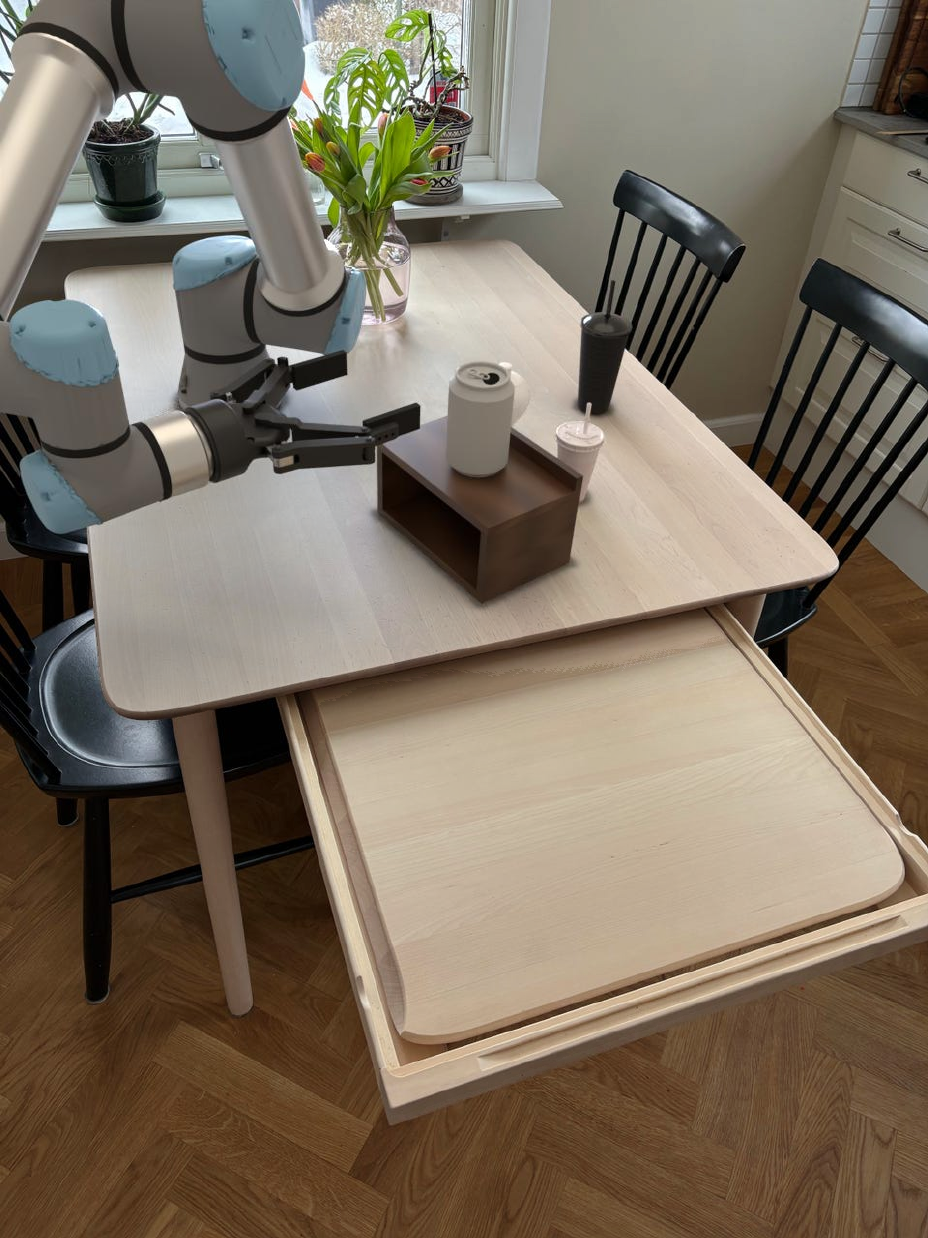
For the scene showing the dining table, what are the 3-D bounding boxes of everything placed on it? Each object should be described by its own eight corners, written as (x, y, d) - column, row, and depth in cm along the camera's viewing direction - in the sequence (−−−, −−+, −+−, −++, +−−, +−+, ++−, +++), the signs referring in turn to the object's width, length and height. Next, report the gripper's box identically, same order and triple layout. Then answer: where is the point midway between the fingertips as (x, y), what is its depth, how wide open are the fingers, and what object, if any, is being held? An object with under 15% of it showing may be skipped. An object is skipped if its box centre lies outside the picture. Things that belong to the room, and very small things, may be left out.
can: (501, 485, 112) (510, 392, 104) (438, 475, 113) (442, 382, 105) (512, 452, 118) (521, 361, 110) (452, 443, 118) (457, 352, 110)
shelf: (461, 479, 132) (466, 396, 124) (569, 562, 120) (583, 475, 111) (377, 512, 125) (376, 426, 117) (482, 603, 113) (489, 514, 104)
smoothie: (592, 511, 128) (608, 419, 119) (545, 504, 129) (557, 412, 120) (596, 485, 133) (611, 394, 124) (550, 479, 134) (562, 387, 124)
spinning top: (520, 457, 137) (528, 381, 129) (468, 449, 138) (473, 373, 130) (528, 431, 143) (537, 356, 135) (478, 423, 144) (483, 348, 136)
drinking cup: (583, 423, 145) (603, 294, 132) (559, 399, 151) (576, 273, 137) (626, 414, 148) (650, 288, 135) (601, 391, 153) (622, 267, 140)
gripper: (146, 424, 101) (319, 372, 111) (264, 544, 87) (450, 472, 97) (133, 358, 96) (316, 310, 106) (257, 475, 82) (453, 406, 92)
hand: (380, 387), depth 102 cm, fingers open, 13 cm apart
